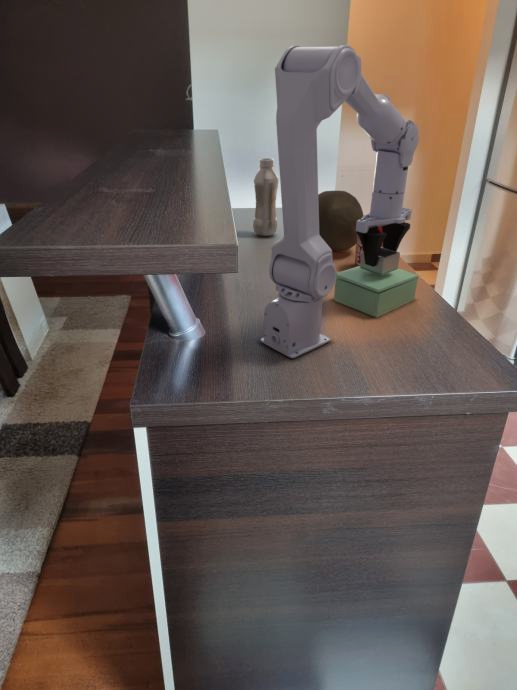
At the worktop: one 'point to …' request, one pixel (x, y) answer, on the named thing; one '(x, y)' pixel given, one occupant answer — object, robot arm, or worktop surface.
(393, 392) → the worktop surface
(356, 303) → the box
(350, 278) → the lunchbox lid
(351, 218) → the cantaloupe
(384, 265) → the small grey square box
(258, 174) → the plastic bottle
